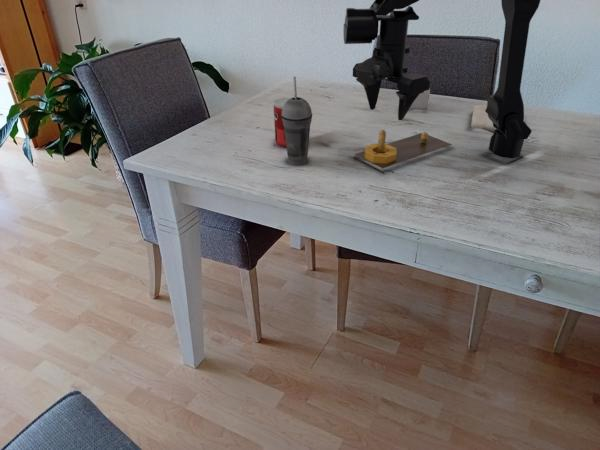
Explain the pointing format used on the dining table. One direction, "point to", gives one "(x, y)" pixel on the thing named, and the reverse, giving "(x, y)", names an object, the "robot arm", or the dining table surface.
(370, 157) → the ring
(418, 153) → the peg rack
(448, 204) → the dining table surface
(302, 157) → the beverage cup
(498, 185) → the dining table surface
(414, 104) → the grey block
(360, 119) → the dining table surface
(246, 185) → the dining table surface
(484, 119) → the washcloth
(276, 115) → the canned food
